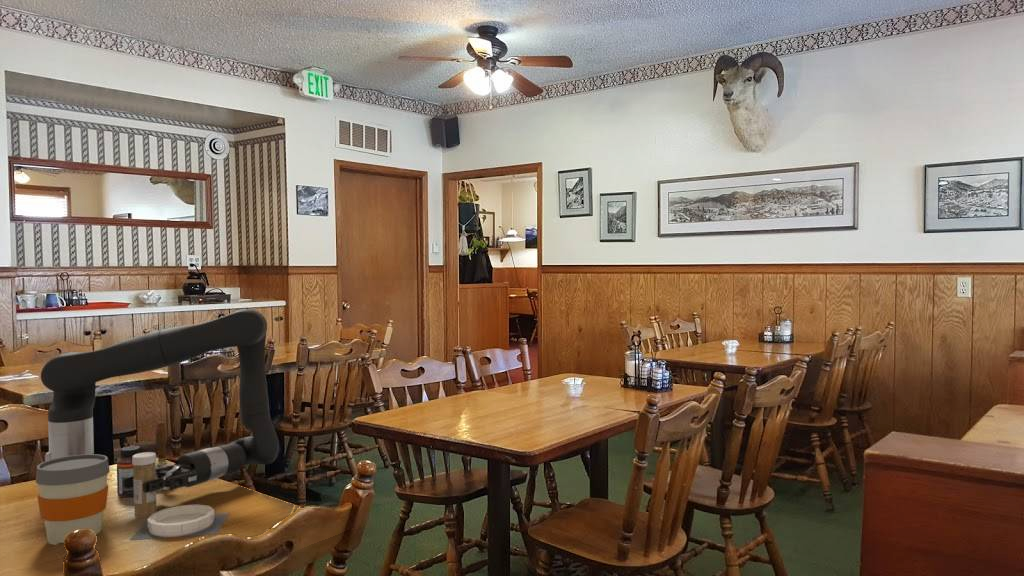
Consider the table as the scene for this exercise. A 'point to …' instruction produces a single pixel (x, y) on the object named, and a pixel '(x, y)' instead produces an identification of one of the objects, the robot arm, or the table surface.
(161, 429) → the hand bell
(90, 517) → the reusable coffee cup
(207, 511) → the white round tray
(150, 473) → the sprinkles bottle
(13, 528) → the table surface
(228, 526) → the table surface
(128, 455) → the supplement bottle
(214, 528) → the mat
